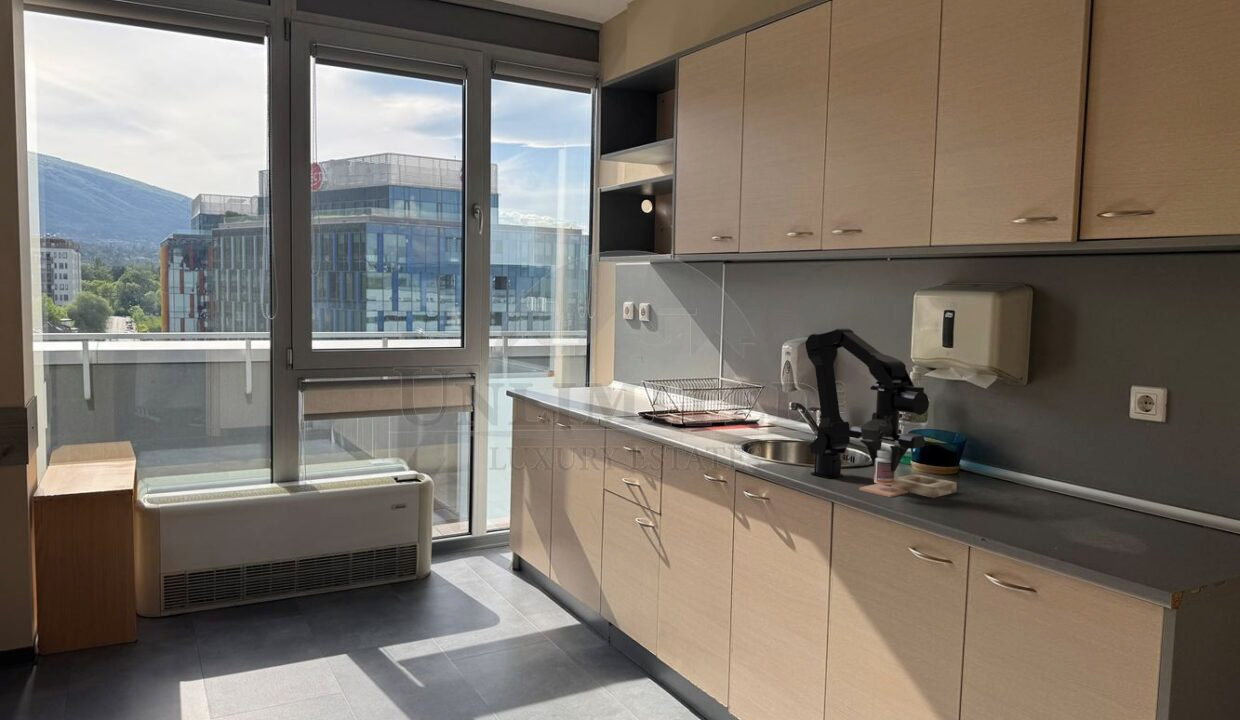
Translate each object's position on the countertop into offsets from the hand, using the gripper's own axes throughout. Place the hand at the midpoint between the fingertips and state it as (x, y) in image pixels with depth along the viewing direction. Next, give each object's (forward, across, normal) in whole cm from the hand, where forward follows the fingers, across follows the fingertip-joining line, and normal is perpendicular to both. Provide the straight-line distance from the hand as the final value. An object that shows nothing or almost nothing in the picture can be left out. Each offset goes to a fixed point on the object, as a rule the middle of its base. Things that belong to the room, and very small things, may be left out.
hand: (884, 469), depth 216 cm
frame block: (+6, +5, +10) cm, 13 cm away
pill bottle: (+4, 0, 0) cm, 4 cm away
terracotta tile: (+6, 0, 0) cm, 6 cm away
